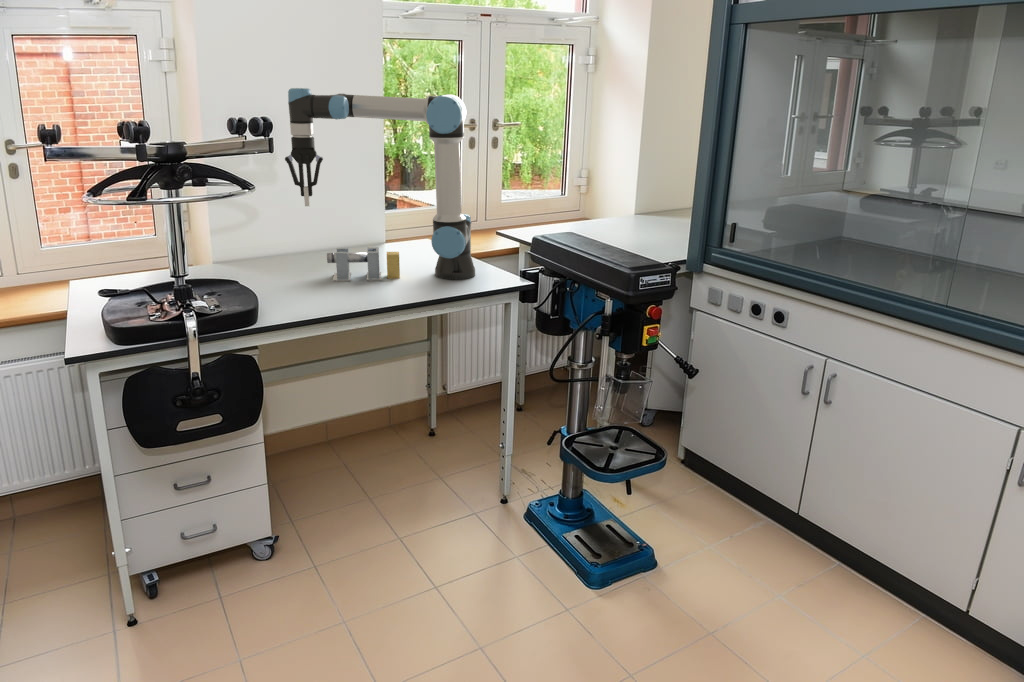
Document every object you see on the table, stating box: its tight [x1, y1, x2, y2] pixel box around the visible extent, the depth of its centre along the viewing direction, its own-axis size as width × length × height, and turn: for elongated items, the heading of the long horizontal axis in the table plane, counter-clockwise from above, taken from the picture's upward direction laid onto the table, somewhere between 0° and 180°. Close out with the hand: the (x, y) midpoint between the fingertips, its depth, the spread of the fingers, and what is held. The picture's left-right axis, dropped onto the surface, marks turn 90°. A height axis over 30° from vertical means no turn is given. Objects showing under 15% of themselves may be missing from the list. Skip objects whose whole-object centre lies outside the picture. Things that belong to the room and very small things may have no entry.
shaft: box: [326, 251, 368, 264], centre depth 267 cm, size 16×4×4 cm, turn 99°
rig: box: [332, 246, 382, 283], centre depth 268 cm, size 17×10×10 cm, turn 99°
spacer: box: [386, 251, 401, 280], centre depth 270 cm, size 4×4×9 cm
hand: (307, 205), depth 258 cm, fingers closed
